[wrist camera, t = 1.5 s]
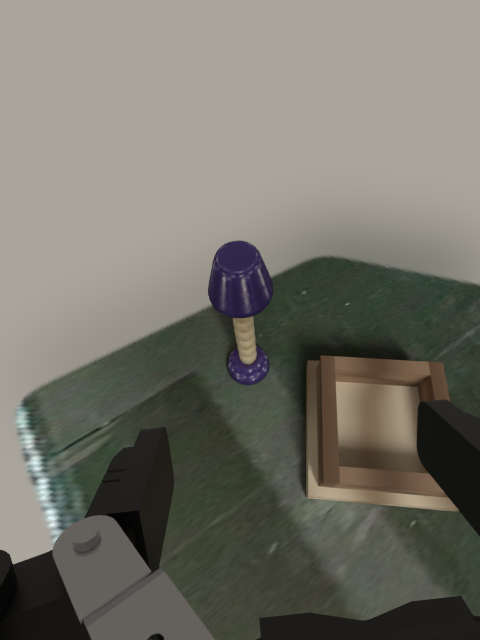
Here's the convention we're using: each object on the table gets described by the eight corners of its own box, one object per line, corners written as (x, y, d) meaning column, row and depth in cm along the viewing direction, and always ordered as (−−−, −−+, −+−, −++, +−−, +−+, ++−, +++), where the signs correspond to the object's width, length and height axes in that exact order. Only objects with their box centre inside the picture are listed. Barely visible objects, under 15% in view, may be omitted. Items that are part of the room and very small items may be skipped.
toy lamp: (215, 374, 38) (189, 274, 23) (233, 336, 40) (219, 221, 25) (260, 391, 37) (262, 297, 22) (276, 350, 39) (287, 240, 24)
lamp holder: (430, 374, 37) (450, 354, 33) (454, 511, 31) (482, 507, 27) (306, 366, 38) (311, 346, 34) (306, 497, 32) (312, 492, 28)
